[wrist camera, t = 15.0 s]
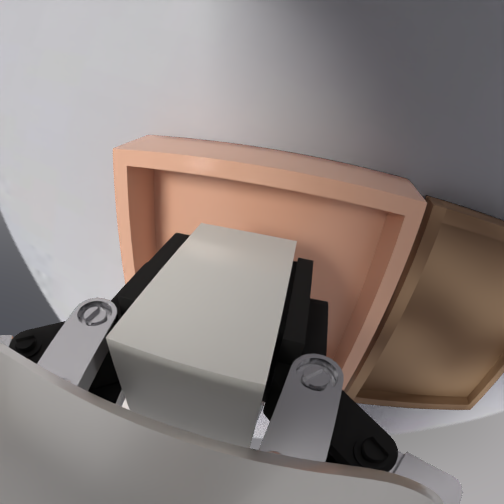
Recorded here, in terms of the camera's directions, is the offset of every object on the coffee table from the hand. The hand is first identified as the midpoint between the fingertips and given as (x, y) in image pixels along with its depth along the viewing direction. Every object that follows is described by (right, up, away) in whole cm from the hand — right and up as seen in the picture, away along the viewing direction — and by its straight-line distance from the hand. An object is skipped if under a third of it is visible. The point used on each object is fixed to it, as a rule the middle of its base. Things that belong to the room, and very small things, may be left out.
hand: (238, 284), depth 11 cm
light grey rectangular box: (0, 0, +1) cm, 1 cm away
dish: (+1, 0, +6) cm, 6 cm away
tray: (+13, -4, +5) cm, 14 cm away
